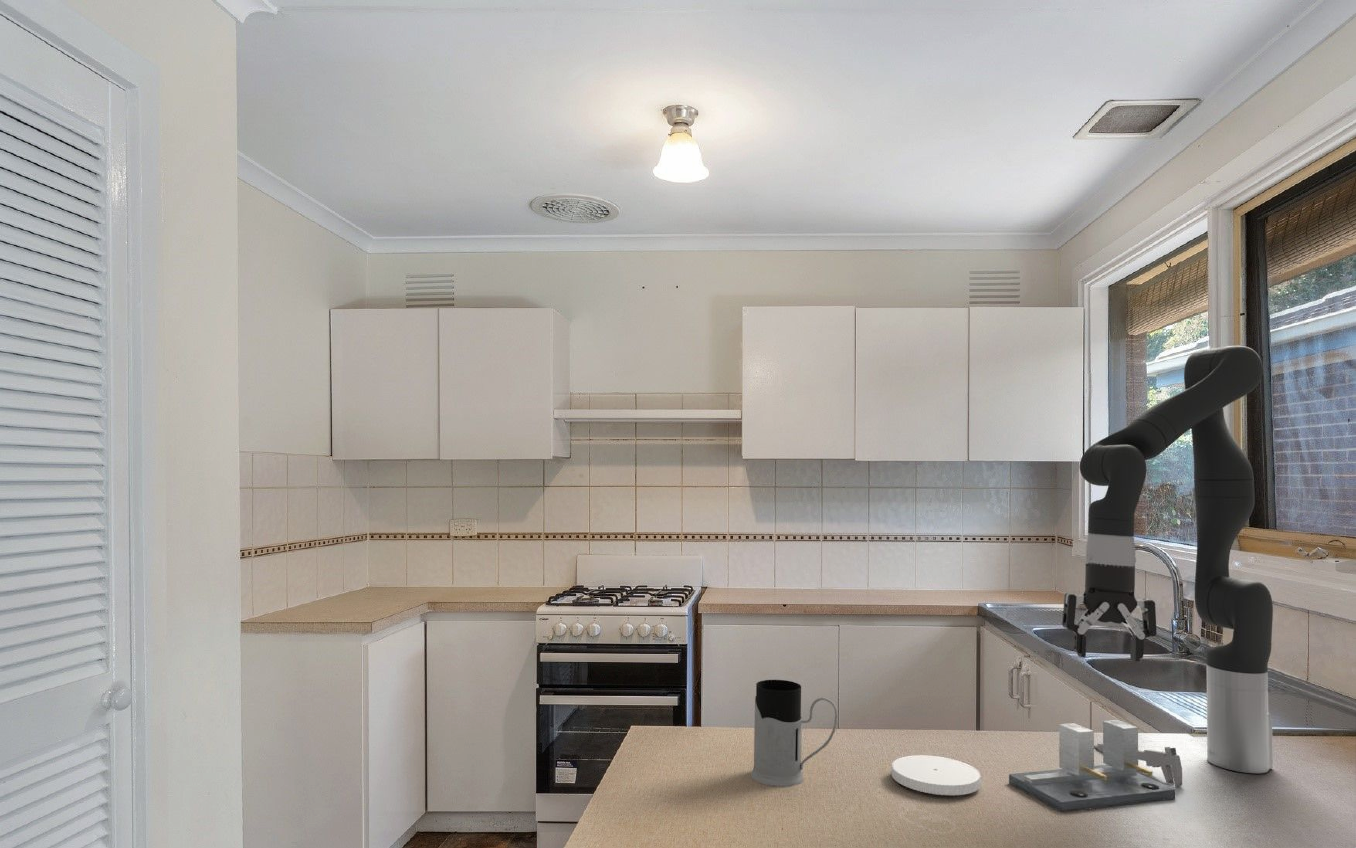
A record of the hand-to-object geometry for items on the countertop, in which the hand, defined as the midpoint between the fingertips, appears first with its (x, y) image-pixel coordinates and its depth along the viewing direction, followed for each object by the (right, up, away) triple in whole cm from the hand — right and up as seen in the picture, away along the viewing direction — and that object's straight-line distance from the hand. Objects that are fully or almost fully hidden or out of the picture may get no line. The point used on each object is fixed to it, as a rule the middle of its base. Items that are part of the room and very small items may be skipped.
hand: (1107, 658), depth 142 cm
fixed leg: (+2, -18, -3) cm, 18 cm away
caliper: (+8, -22, +7) cm, 24 cm away
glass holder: (-53, -19, -3) cm, 57 cm away
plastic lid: (-30, -20, -3) cm, 36 cm away
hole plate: (-5, -20, -5) cm, 21 cm away
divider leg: (-6, -17, -5) cm, 19 cm away
